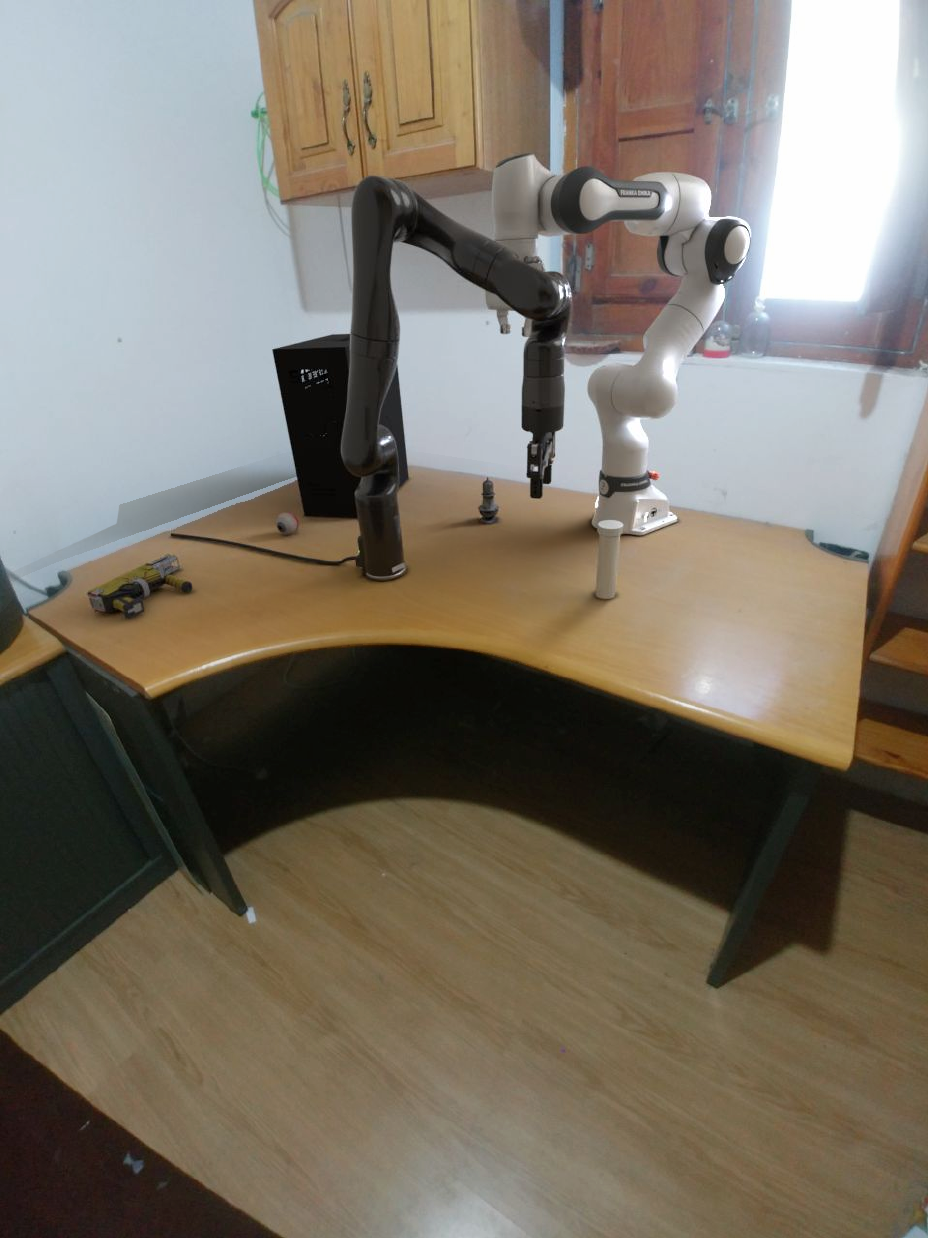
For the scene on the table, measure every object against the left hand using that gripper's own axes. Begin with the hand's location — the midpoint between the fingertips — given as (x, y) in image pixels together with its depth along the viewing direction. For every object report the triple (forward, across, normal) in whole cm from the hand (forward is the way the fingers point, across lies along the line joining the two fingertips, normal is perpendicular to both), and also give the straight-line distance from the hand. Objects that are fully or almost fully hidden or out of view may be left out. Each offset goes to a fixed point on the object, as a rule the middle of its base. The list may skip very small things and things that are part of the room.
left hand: (540, 490), depth 115 cm
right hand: (-25, -24, -11) cm, 36 cm away
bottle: (+23, -4, +13) cm, 27 cm away
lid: (+8, -4, +13) cm, 16 cm away
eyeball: (+24, -21, -74) cm, 80 cm away
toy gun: (+24, +17, -84) cm, 89 cm away
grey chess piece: (+23, -42, -22) cm, 53 cm away
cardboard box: (+24, -55, -69) cm, 91 cm away
